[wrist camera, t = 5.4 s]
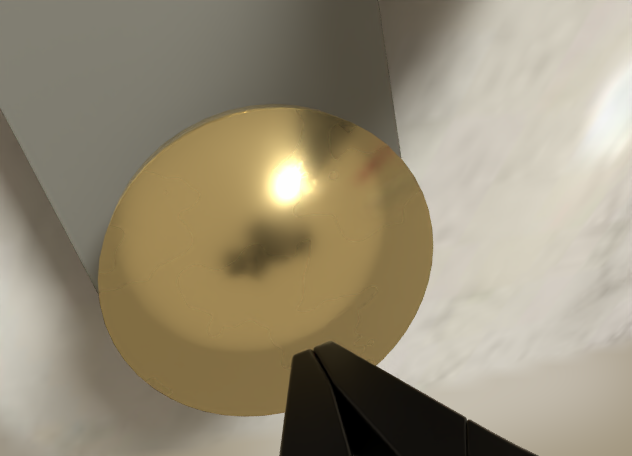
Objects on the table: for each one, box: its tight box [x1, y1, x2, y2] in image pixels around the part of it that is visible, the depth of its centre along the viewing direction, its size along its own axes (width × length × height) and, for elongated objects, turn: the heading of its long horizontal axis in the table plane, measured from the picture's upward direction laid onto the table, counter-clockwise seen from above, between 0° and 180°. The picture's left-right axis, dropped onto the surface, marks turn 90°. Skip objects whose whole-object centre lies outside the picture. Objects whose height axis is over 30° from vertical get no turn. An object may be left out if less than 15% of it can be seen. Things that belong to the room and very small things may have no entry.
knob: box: [98, 104, 433, 416], centre depth 15 cm, size 10×10×5 cm
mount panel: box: [0, 0, 401, 294], centre depth 15 cm, size 12×24×4 cm, turn 15°
